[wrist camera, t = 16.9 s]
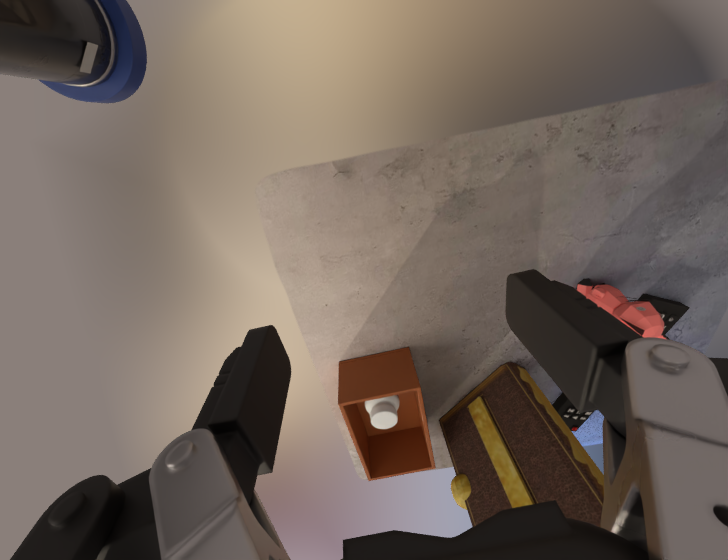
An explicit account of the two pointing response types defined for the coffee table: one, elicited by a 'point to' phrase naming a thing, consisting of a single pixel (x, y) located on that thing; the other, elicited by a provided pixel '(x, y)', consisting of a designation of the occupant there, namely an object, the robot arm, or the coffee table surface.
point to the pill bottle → (383, 411)
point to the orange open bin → (410, 434)
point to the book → (518, 452)
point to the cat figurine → (625, 309)
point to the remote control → (670, 317)
